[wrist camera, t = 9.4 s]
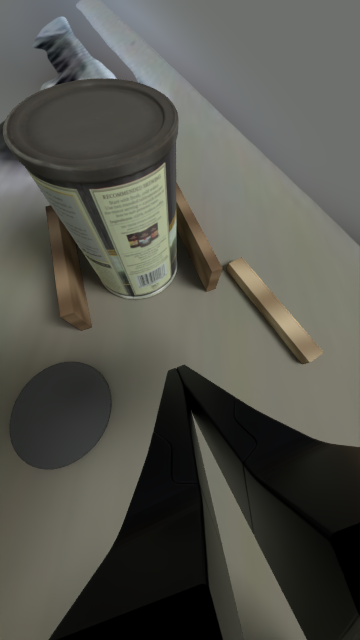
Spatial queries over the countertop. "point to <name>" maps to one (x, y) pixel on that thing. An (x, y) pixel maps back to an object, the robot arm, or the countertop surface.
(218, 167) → the countertop surface
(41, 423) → the mat
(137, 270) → the coffee can
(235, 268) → the oak stirring stick
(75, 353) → the countertop surface
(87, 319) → the walnut cubby
